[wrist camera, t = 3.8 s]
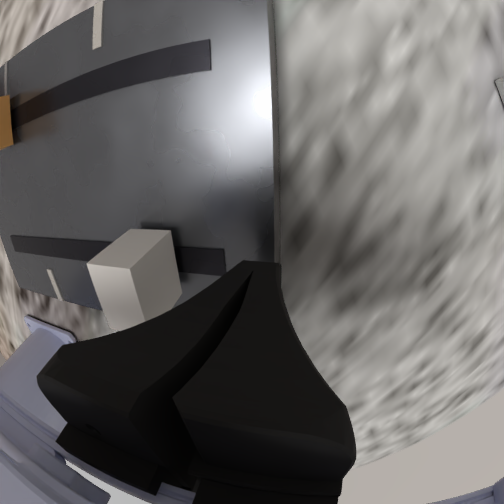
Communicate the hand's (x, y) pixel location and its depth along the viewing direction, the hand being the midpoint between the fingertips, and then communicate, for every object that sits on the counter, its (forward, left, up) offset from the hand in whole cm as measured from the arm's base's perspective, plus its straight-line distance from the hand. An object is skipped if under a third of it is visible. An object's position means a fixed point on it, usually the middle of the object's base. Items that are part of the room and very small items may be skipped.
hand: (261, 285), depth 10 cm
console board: (+4, +10, -3) cm, 11 cm away
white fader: (0, +5, -1) cm, 5 cm away
